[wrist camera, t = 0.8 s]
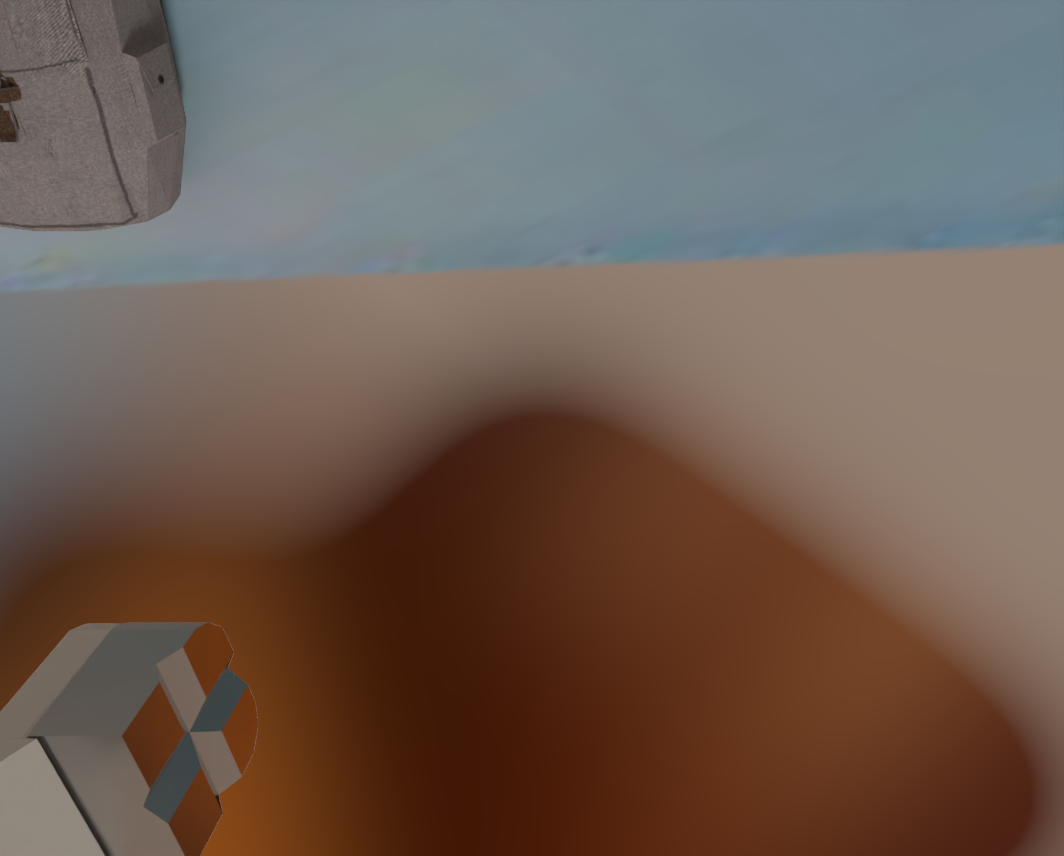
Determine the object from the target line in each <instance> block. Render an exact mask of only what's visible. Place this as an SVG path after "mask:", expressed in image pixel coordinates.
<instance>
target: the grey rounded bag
mask: <svg viewBox="0 0 1064 856" xmlns="http://www.w3.org/2000/svg"><path fill="white" fill-rule="evenodd" d="M185 130H186V117H185V112H184V107H183V103H182V98H181V93H180V88H179V83H178V78H177V74H176V69H175V64H174V59H173V54H172V49H171V44H170V40H169V35H168V31H167V27H166V23H165V19H164V15H163V11H162V8H161V4H160V0H0V226H2V227H9V228H16V229H23V230H30V231H90V230H102V229H110V228H115V227H120V226H125V225H130V224H136V223H141V222H146V221H149V220H151V219H153V218H155V217H157V216H159V215H161V214H163V213H165V212H167V211H169V210H170V209H171V208H172V206H173V205H174V203H175V202H176V200H177V199H178V197H179V195H180V191H181V178H182V166H183V154H184V142H185Z"/></svg>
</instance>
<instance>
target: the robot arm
mask: <svg viewBox="0 0 1064 856" xmlns="http://www.w3.org/2000/svg"><path fill="white" fill-rule="evenodd" d="M233 653H234V651H233V649H232V647H231V645H230V642H229V641H228V638H227V636H226V634H225V632H224V630H223V628H222V627H220V626H217V625H214V624H212V623H209V622H168V623H167V622H159V623H158V622H157V623H156V622H155V623H154V622H151V623H125V624H117V623H116V624H114V623H113V624H84V625H82V626H79V627H77V628H74V629H72V630H70V631H69V632H68V633H67V634H66V635H65V637H64V638H63V639H62V640H61V641H60V642H59V644H58V645H57V646H56V647H55V648H54V650H53V651H52V652H51V653H50V655H48V657H47V658H46V659H45V660H44V661H43V662H42V664H41V665H40V666H39V667H38V668H37V670H36V671H35V672H34V673H33V674H32V675H31V677H30V678H29V679H28V680H27V681H26V682H25V684H24V685H23V686H22V687H21V688H20V690H19V691H18V692H17V693H16V694H15V695H14V697H13V698H12V699H11V700H10V701H9V702H8V704H7V705H6V706H5V707H4V708H3V709H2V711H1V712H0V856H200V855H201V853H202V851H203V849H204V848H205V846H206V844H207V842H208V840H209V838H210V836H211V834H212V832H213V831H214V829H215V827H216V825H217V823H218V821H219V819H220V817H221V815H222V814H223V812H222V808H221V803H220V799H219V794H220V793H221V792H222V791H224V790H225V789H226V788H228V787H229V786H230V785H232V784H233V783H234V782H236V781H237V780H238V779H239V778H241V777H242V775H243V773H244V771H245V769H246V767H247V765H248V763H249V761H250V759H251V757H252V755H253V753H254V747H255V741H256V735H257V730H258V729H257V728H258V718H257V711H256V703H255V700H254V698H253V695H252V693H251V691H250V688H249V686H248V684H247V683H245V682H244V681H243V680H242V679H240V678H239V677H238V676H237V675H236V674H234V673H233V672H232V671H230V670H229V669H228V666H229V663H230V661H231V658H232V656H233Z"/></svg>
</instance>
